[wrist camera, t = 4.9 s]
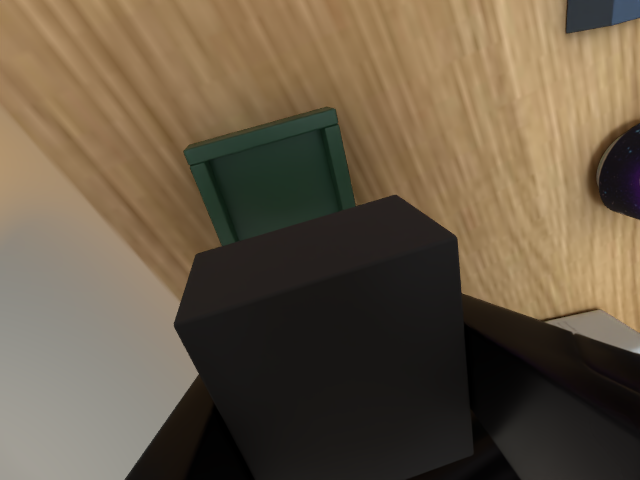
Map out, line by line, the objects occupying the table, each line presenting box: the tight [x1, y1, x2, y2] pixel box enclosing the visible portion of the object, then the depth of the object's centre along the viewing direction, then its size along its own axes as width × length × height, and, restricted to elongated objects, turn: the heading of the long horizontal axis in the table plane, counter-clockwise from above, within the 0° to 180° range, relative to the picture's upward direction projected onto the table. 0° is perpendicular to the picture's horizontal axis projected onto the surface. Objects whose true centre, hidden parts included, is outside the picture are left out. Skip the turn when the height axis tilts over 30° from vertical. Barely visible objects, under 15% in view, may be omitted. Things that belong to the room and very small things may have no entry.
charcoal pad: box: [174, 195, 474, 480], centre depth 8 cm, size 6×4×2 cm
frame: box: [184, 107, 356, 246], centre depth 18 cm, size 8×7×2 cm
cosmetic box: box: [545, 309, 640, 354], centre depth 25 cm, size 6×4×12 cm
